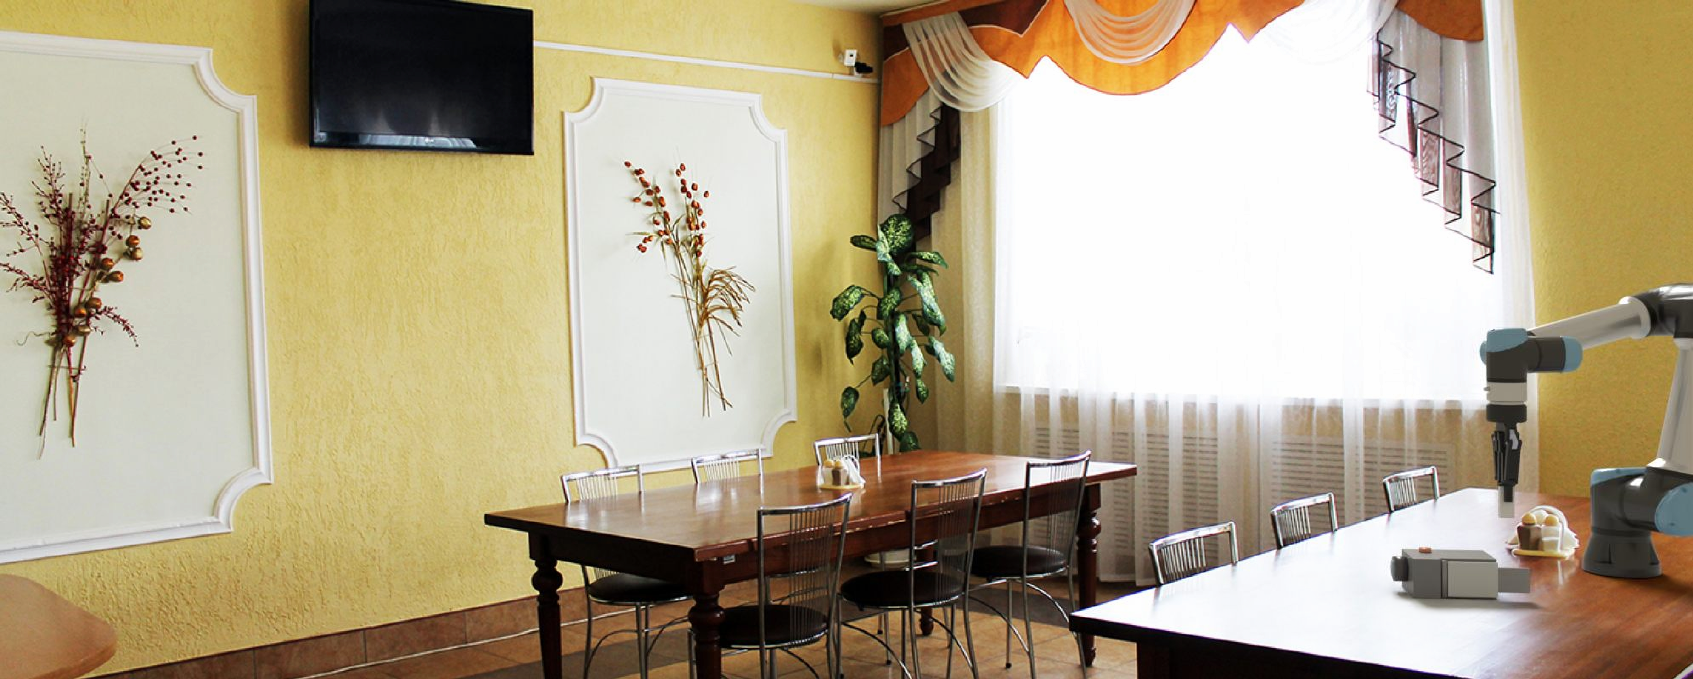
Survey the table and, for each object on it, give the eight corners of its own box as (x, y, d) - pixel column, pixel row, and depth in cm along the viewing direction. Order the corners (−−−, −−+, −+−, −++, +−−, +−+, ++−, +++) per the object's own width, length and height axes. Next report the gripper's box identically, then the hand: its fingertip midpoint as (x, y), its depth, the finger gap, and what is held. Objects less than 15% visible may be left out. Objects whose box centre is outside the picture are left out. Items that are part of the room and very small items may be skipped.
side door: (1528, 598, 267) (1528, 561, 267) (1530, 599, 266) (1530, 562, 266) (1441, 596, 270) (1441, 560, 270) (1442, 597, 269) (1442, 560, 269)
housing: (1482, 588, 278) (1482, 546, 278) (1498, 599, 267) (1497, 556, 267) (1388, 585, 282) (1388, 544, 282) (1399, 597, 271) (1399, 554, 271)
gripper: (1478, 400, 279) (1478, 512, 280) (1495, 405, 266) (1495, 522, 267) (1516, 400, 278) (1516, 512, 278) (1536, 405, 265) (1536, 522, 265)
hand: (1506, 517), depth 273 cm, fingers closed
